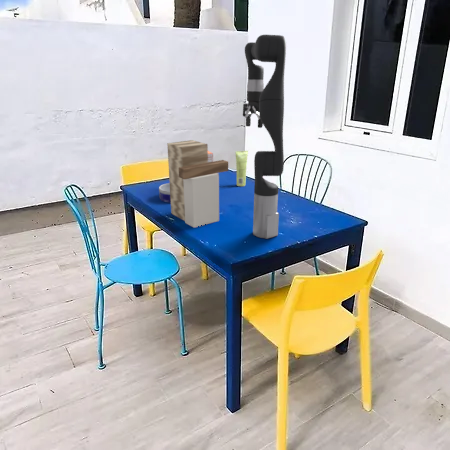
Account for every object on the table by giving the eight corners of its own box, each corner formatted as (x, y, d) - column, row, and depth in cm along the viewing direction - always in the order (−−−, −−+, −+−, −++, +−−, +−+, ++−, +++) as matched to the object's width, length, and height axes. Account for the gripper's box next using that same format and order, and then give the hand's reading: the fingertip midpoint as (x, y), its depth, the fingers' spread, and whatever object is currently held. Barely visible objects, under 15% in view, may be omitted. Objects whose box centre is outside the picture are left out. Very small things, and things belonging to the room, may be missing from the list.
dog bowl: (193, 200, 196) (193, 189, 194) (163, 204, 191) (162, 192, 189) (184, 192, 209) (184, 181, 207) (156, 195, 204) (155, 184, 202)
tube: (239, 183, 224) (239, 149, 216) (247, 184, 221) (248, 150, 214) (235, 186, 219) (235, 151, 212) (243, 187, 217) (243, 152, 209)
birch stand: (208, 214, 177) (207, 144, 165) (185, 221, 170) (182, 147, 158) (194, 207, 186) (192, 140, 174) (171, 213, 179) (167, 143, 167)
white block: (219, 220, 170) (218, 173, 162) (194, 227, 163) (192, 179, 155) (209, 216, 176) (209, 170, 168) (185, 222, 168) (183, 175, 160)
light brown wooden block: (228, 170, 167) (228, 161, 165) (184, 179, 155) (183, 169, 153) (222, 168, 170) (222, 159, 168) (178, 177, 158) (178, 167, 156)
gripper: (271, 90, 175) (270, 127, 180) (251, 90, 186) (250, 125, 191) (259, 90, 171) (257, 128, 176) (239, 90, 182) (238, 126, 187)
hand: (253, 126), depth 184 cm, fingers open, 8 cm apart
